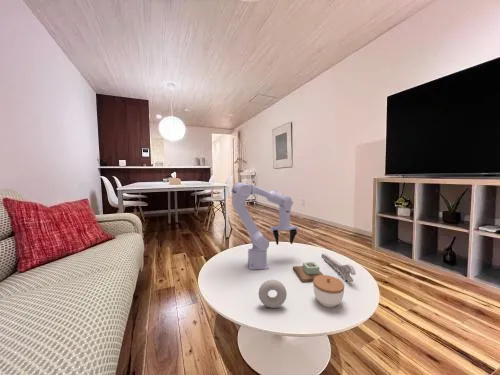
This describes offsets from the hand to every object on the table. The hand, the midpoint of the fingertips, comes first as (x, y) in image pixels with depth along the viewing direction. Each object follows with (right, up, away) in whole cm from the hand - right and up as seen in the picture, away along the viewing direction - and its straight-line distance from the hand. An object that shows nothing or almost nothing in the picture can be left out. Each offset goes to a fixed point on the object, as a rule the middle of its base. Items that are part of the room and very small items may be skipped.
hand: (284, 243), depth 112 cm
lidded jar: (+11, -13, -34) cm, 38 cm away
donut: (-10, -13, -37) cm, 40 cm away
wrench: (+24, -11, -10) cm, 28 cm away
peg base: (+9, -11, -14) cm, 20 cm away
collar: (+10, -9, -14) cm, 20 cm away
